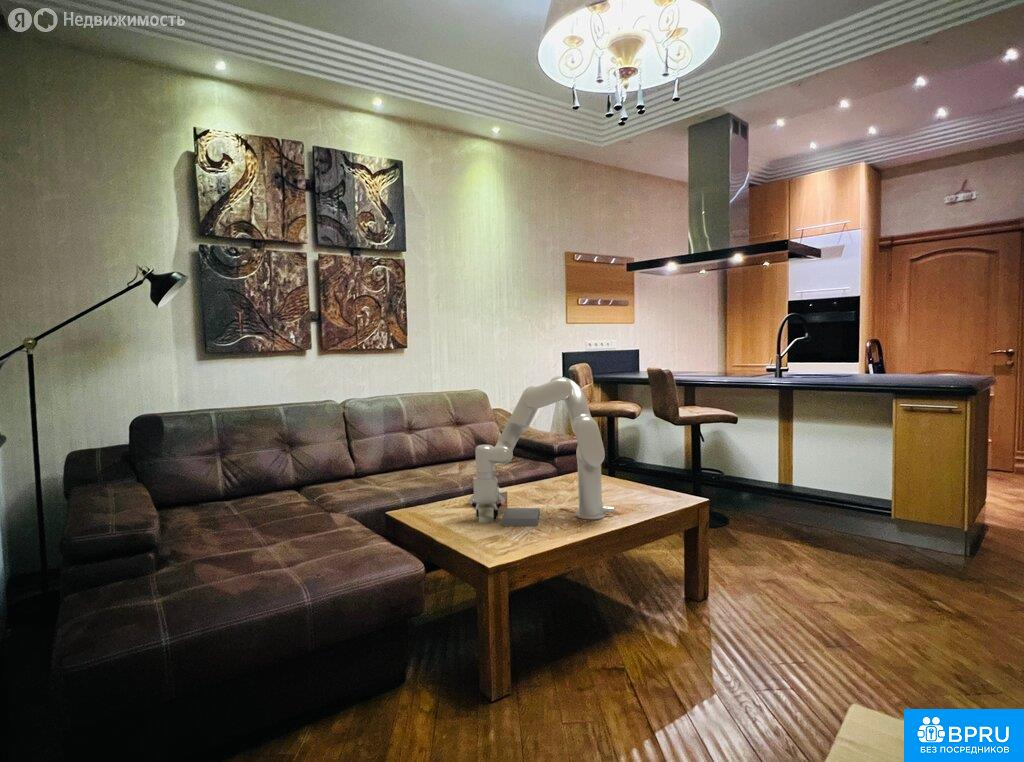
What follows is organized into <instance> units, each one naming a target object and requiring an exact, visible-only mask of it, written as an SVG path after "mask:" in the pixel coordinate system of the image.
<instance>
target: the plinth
mask: <svg viewBox="0 0 1024 762" xmlns="http://www.w3.org/2000/svg"><path fill="white" fill-rule="evenodd" d="M539 516H541V508H540V507H507V508H506V510H505V512H504V513H503V514H502V516H501V527H538V525H539V524H538V523H539V521H538V520H540V517H539Z"/></svg>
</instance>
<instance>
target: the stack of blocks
mask: <svg viewBox="0 0 1024 762" xmlns="http://www.w3.org/2000/svg"><path fill="white" fill-rule="evenodd" d="M475 478H477V476H475V477H472V485H473V486H472V490H473V491H474V483H475ZM499 494H500V495H501V496H502V497H503V498H504V499H505V502H504V503H503V504H502V505H501V506H500V507H499V508H498V515H501V513H502V514H504V512H505V510H506V508H508V491H507V490H505V489H502V488H501V487H499ZM499 502H501V500H500V499H499V500H498V502H497V504H498V503H499ZM476 504H477V503H476ZM481 504H492V503H481ZM481 504H480V505H481Z"/></svg>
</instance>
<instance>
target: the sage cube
mask: <svg viewBox="0 0 1024 762" xmlns="http://www.w3.org/2000/svg"><path fill="white" fill-rule="evenodd" d="M478 512H479V520H478V523H479V522H480V523H479V524H482V523H483V524H484V523H485V524H490V523H491V524H494V523H495V521H496V520H494V506H493V504H481V505H480V506H479V508H478ZM481 522H482V523H481Z"/></svg>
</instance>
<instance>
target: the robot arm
mask: <svg viewBox="0 0 1024 762" xmlns="http://www.w3.org/2000/svg"><path fill="white" fill-rule="evenodd" d="M561 401H564V403H565V406H566V410H567V413H568V416H569V421H570V425H571V430H572V432H573V433H574V435H575V438H576V443H577V447H576V451H575V452H576V453H575V454H576V463H577V485H578V486H577V488H578V491H577V492H578V509H577V510H576V511H575V512H574V513H575V517H577V518H578V519H582V520H601V519H603V518H606V516H607V512H610V513H611V512H612V513H613V512H614V506H611V505H605V504H604V503H603V496H602V493H603V491H602V488H603V487H602V466H601V464H603V462H604V460H605V457H606V454H605V453H606V452H605V447H604V443H603V440H602V435H601V432H600V427H599V425H598V423H597V421H596V419H594V418H593V417H592V415H591V412H590V408H589V405H588V402H587V401H588V400H587V398H586V396H585V393H584V391H583V390H582V388H581V387H580V386H579V384H577V383H576V381H574V380H572V379H570V378H568V377H565V376H561V375H559V376H554V377H552V378H551V379H550V381H549V382H546V383H543V384H540V385H537V386H527V387H526V388H525V389H524V390H523V391H522V394H521V396H520V398H519V399H518V402H517V403H516V405H515V408H514V410H513V411H512V413H511V415H510V417H509V418H508V421H507V423H506V425H505V427H504V429H503V430H502V432H501V433H500V436H499V438H498V439H497V442H496V444H495V446H493V445H492V444H479V445H476V447H475V450H474V451H475V470H476V473H475V474H476V476H475V477H477V478H475V483H474V490H473V494H472V496H470V497H469V498H468V500H467V502H468V503H469V504H470V505H471V506H472V507H473V508H474V510H475V513H476V515H475V516H476V518H477V520H478V521H479V512H478V508H479V506H480V504H481V503H492V504H493V506H494V520H495V521H496V520H497V518H498V517H499V514H498V508H499V507H500V506H501V505H502V504H503V503H504V502H505V499H504V498H503V497H502V496H501V495H500V494H499V488H500V486H499V481H498V478H497V477H498V476H499V472H498V471H496V470H495V469H496V468H495V467H496V466H495V464H503V465H505V464H508V463H510V462H511V461H512V460H513V458H514V454H513V453H514V452H513V451H514V448H515V447H516V445H517V442H518V441H519V439H520V438H521V437H522V435H523V434H524V433H525V432H526V431H527V430H528V429H529V427H530V425H531V423H532V421H533V420H534V418H535V416H536V414H537V412H538V410H539V409H541V408H545V407H547V406H551V405H553V404H556V403H558V402H561ZM499 499H500V500H501V502H499V503H498V504H497V502H498V500H499ZM476 503H477V504H476Z"/></svg>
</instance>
